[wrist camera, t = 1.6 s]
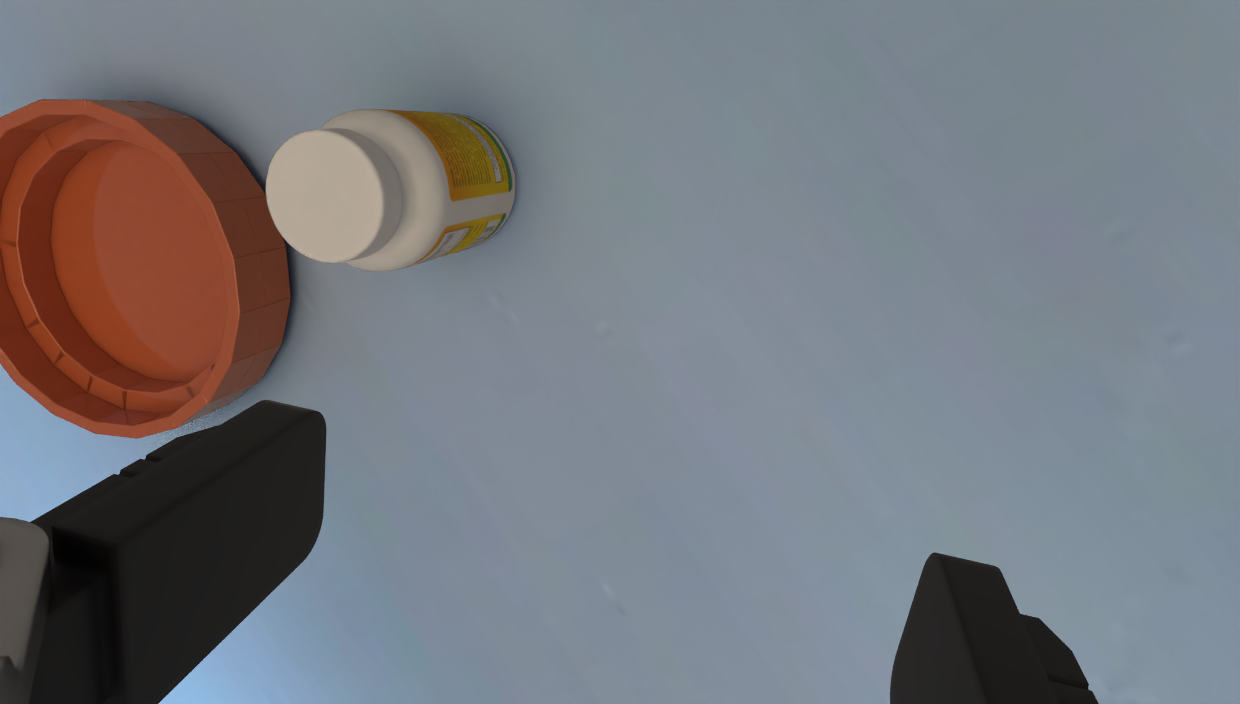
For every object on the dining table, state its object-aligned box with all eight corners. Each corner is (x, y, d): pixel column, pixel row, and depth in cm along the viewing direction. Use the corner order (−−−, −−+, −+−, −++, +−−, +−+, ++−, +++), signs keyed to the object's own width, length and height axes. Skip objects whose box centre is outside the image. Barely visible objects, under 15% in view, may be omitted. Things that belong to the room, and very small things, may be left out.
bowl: (-15, 220, 40) (-102, 230, 37) (162, 33, 36) (82, 22, 32) (162, 458, 42) (95, 491, 38) (357, 308, 37) (302, 329, 33)
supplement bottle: (502, 263, 34) (385, 311, 25) (387, 223, 35) (234, 256, 26) (533, 134, 33) (419, 137, 24) (412, 96, 34) (257, 84, 25)
